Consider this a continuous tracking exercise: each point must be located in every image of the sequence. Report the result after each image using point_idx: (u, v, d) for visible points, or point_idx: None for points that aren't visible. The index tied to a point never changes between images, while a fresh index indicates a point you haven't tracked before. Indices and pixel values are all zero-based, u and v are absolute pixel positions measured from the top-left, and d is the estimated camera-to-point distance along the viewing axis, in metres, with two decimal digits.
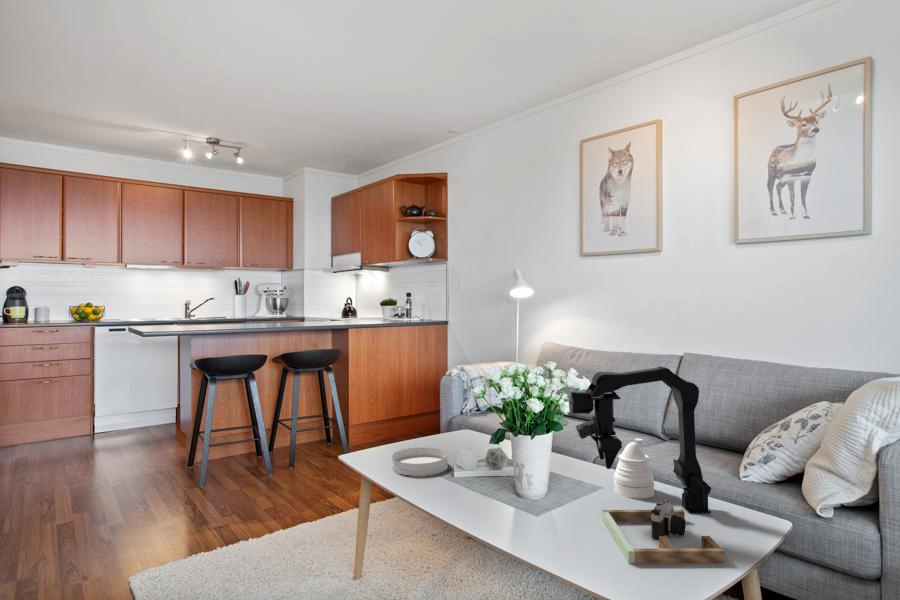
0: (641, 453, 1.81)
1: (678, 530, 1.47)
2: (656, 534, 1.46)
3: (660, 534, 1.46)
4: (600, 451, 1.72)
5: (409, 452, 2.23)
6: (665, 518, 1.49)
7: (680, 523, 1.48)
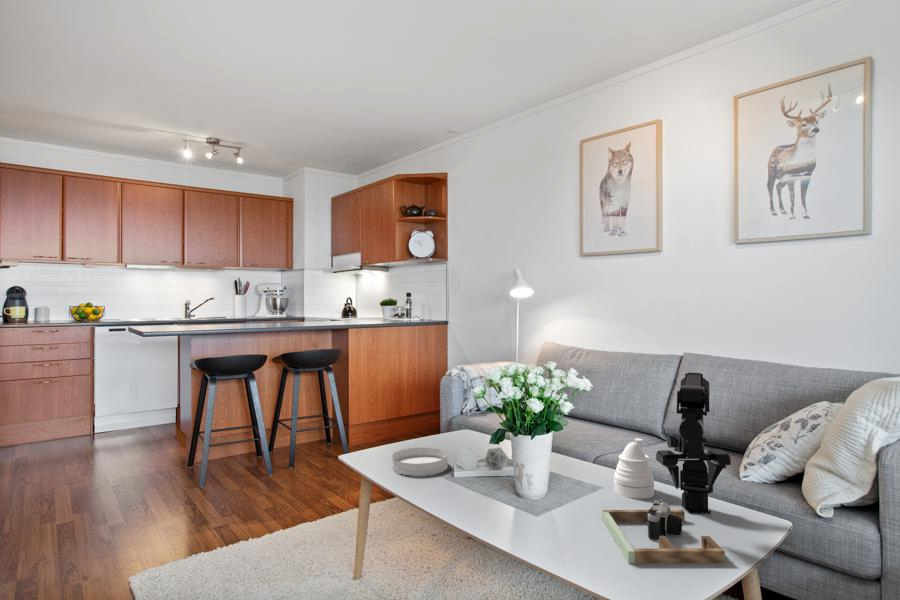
0: (641, 453, 1.81)
1: (675, 530, 1.47)
2: (653, 534, 1.46)
3: (657, 534, 1.46)
4: (708, 478, 1.52)
5: (410, 452, 2.23)
6: (662, 518, 1.49)
7: (676, 523, 1.48)
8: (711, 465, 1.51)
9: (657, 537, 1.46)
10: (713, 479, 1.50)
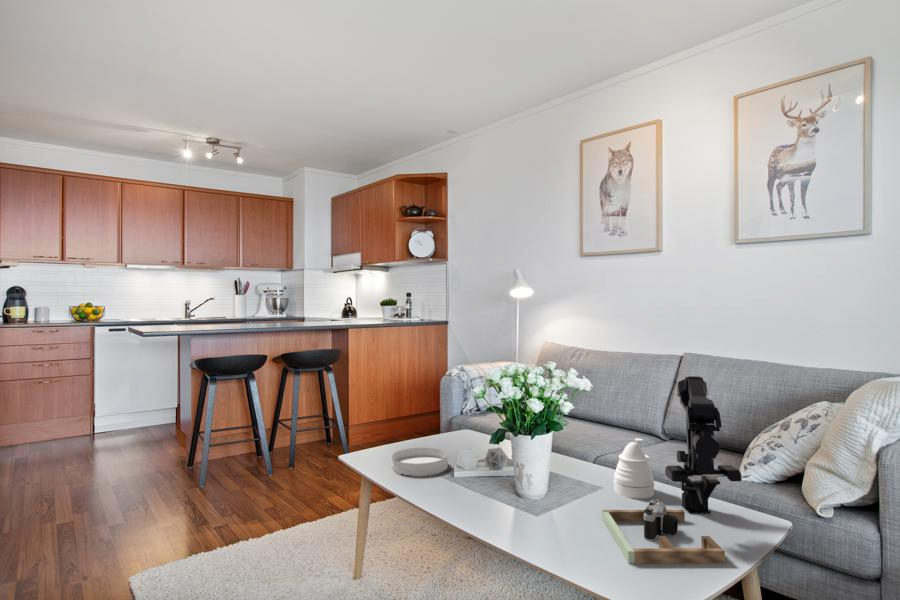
0: (641, 453, 1.81)
1: (670, 529, 1.48)
2: (648, 533, 1.47)
3: (652, 533, 1.47)
4: None
5: (410, 452, 2.23)
6: (657, 517, 1.49)
7: (672, 522, 1.48)
8: (705, 481, 1.50)
9: (653, 537, 1.47)
10: (707, 495, 1.48)
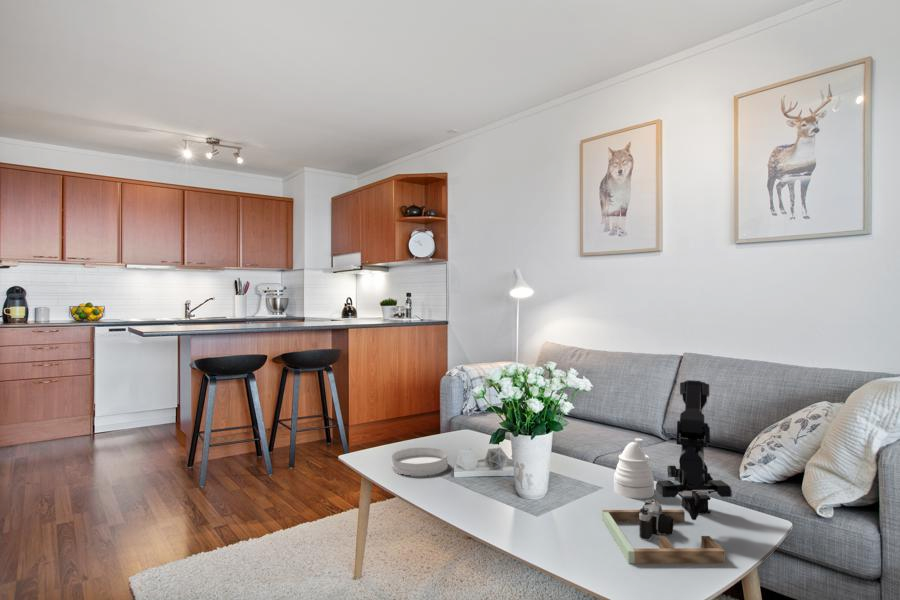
0: (641, 453, 1.81)
1: (666, 529, 1.48)
2: (644, 533, 1.47)
3: (648, 533, 1.47)
4: None
5: (410, 452, 2.23)
6: (653, 517, 1.50)
7: (668, 522, 1.48)
8: (695, 496, 1.50)
9: (648, 536, 1.47)
10: (697, 511, 1.48)
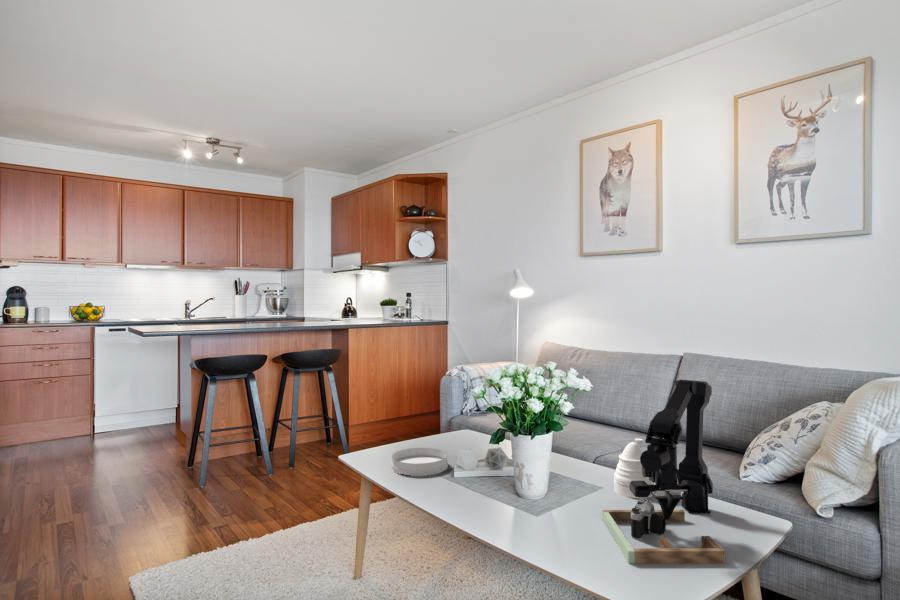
0: (641, 453, 1.81)
1: (657, 528, 1.48)
2: (635, 532, 1.47)
3: (639, 532, 1.47)
4: None
5: (410, 452, 2.23)
6: (645, 516, 1.50)
7: (660, 522, 1.49)
8: (668, 496, 1.50)
9: (640, 535, 1.47)
10: (670, 511, 1.49)
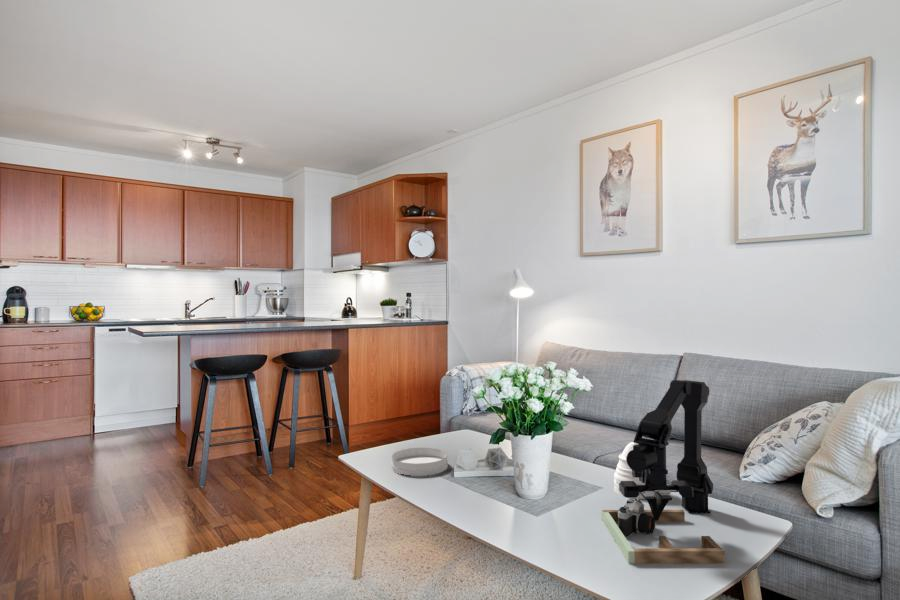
0: None
1: (645, 528, 1.49)
2: (622, 531, 1.49)
3: (626, 531, 1.48)
4: None
5: (410, 452, 2.23)
6: (633, 516, 1.51)
7: (647, 521, 1.49)
8: (658, 497, 1.50)
9: (626, 534, 1.48)
10: (659, 511, 1.49)
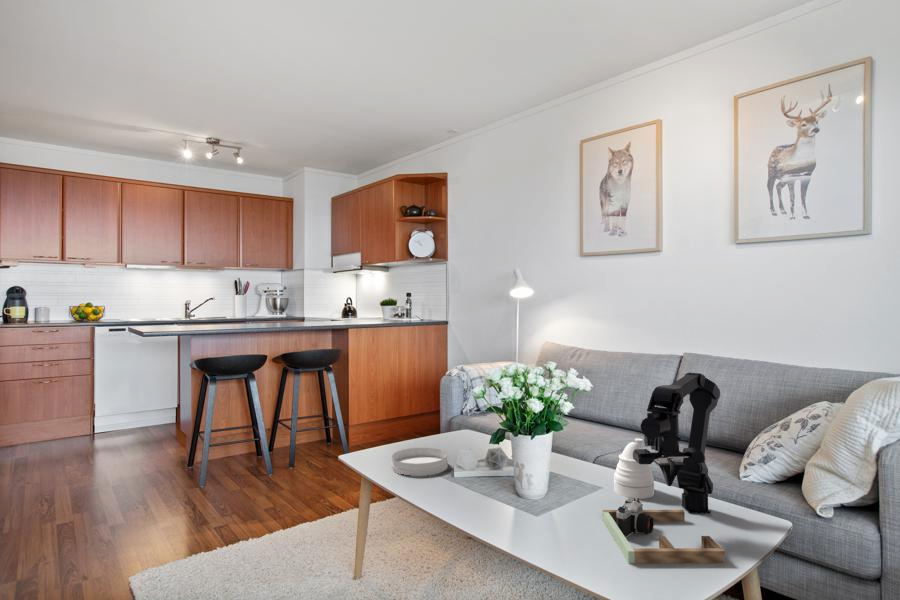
0: None
1: (643, 528, 1.49)
2: None
3: (624, 531, 1.48)
4: None
5: (410, 452, 2.23)
6: (631, 516, 1.51)
7: (646, 521, 1.49)
8: (670, 463, 1.55)
9: (625, 534, 1.48)
10: (672, 477, 1.53)
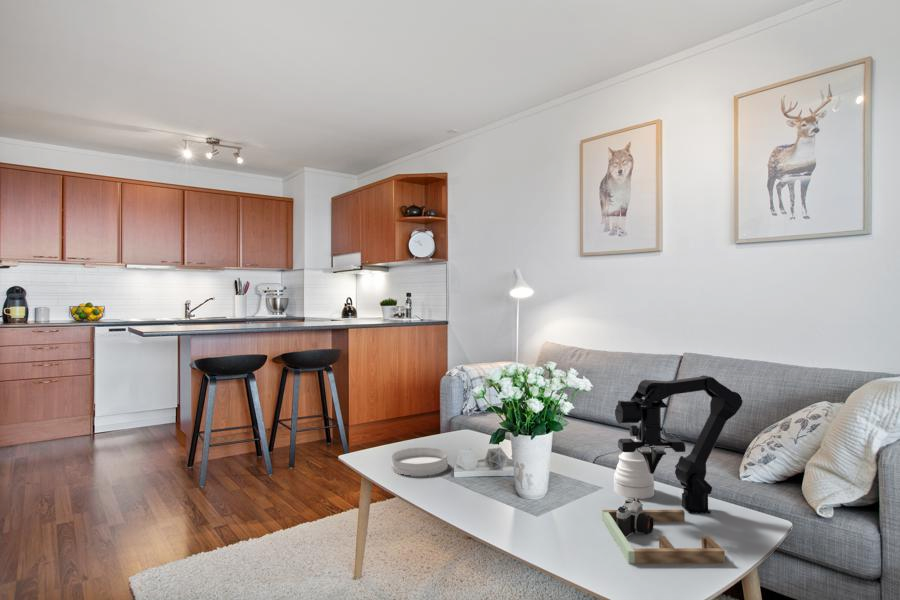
0: None
1: (643, 528, 1.49)
2: None
3: (624, 531, 1.48)
4: None
5: (410, 452, 2.23)
6: (631, 516, 1.51)
7: (646, 521, 1.49)
8: (653, 452, 1.65)
9: (625, 534, 1.48)
10: (654, 465, 1.64)
